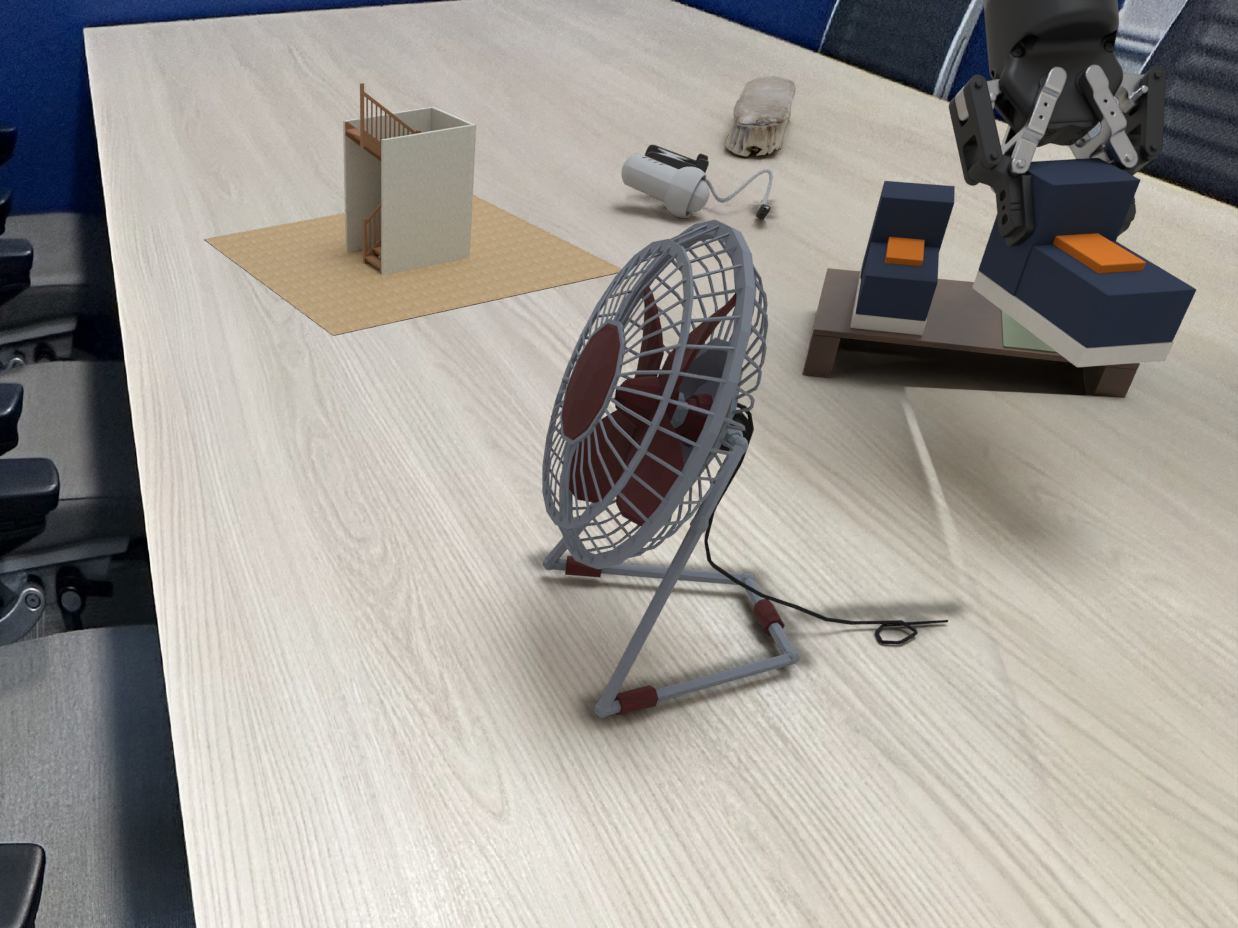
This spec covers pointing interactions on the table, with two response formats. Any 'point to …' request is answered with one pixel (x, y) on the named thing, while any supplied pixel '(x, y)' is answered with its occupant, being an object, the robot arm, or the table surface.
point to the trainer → (1084, 271)
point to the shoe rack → (945, 331)
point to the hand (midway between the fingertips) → (1068, 236)
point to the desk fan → (662, 442)
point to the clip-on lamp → (679, 180)
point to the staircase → (406, 232)
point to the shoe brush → (761, 115)
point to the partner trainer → (902, 258)
